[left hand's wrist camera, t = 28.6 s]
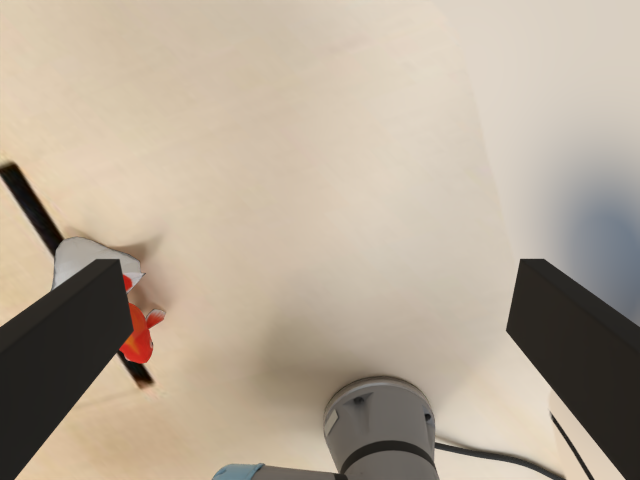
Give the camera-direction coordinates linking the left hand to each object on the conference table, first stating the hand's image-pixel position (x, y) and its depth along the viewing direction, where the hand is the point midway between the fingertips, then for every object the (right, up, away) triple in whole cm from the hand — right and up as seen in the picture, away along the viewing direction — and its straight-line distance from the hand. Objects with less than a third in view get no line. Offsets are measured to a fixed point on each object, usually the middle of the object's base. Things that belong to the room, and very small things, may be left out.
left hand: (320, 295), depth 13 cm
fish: (-24, -4, +34) cm, 41 cm away
